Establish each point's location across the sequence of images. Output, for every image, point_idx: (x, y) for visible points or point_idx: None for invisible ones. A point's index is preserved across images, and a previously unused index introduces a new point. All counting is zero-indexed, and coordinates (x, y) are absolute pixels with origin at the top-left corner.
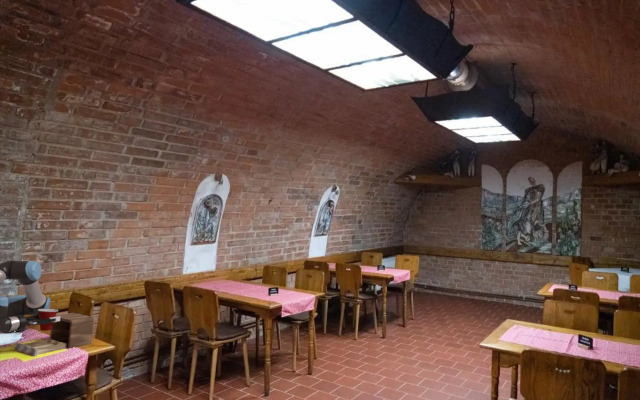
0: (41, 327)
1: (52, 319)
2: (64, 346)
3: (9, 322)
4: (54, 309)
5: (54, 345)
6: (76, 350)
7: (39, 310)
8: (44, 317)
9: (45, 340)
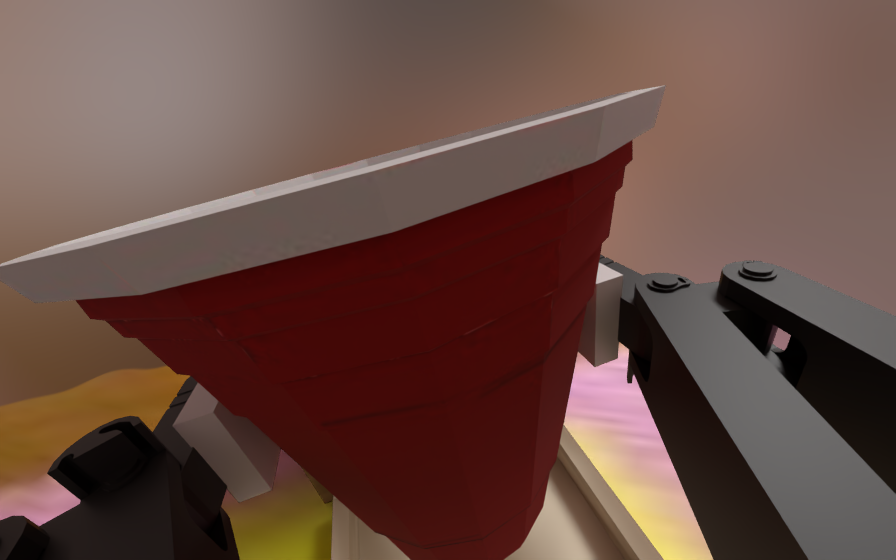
0: (501, 543)
1: (633, 276)
2: None
3: None
4: (325, 172)
5: (594, 492)
6: (602, 382)
7: (397, 162)
8: (570, 341)
9: (349, 530)
